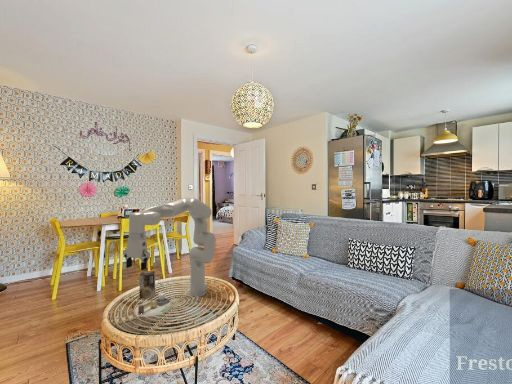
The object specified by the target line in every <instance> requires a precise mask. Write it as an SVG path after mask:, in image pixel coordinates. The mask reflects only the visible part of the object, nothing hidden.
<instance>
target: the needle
mask: <svg viewBox="0 0 512 384" xmlns="http://www.w3.org/2000/svg"><path fill="white" fill-rule="evenodd" d="M157 299H158V298H153V299H150V300H149V301H150V302H149V303H147V304H145V305H141V304H139V305H140V306H139V305H138V306H139V307H138V306H137V307H138V314H139V313H143V312H144V309H145V308H147V307H149V306H150V308H156V307H157Z"/></svg>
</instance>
